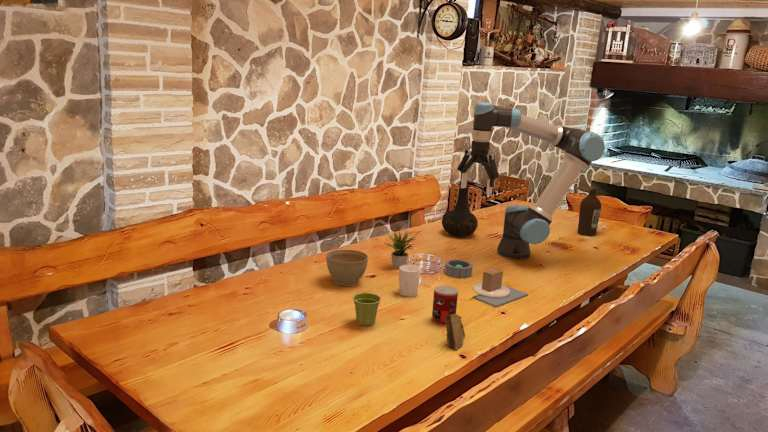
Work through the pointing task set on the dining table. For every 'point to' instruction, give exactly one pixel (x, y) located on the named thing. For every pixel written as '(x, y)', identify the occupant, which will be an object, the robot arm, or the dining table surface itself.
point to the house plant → (400, 249)
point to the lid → (492, 285)
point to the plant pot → (366, 308)
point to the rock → (454, 331)
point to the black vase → (460, 216)
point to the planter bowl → (346, 266)
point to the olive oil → (589, 214)
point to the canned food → (444, 303)
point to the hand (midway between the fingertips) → (475, 191)
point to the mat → (501, 301)
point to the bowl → (458, 268)
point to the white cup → (409, 280)
